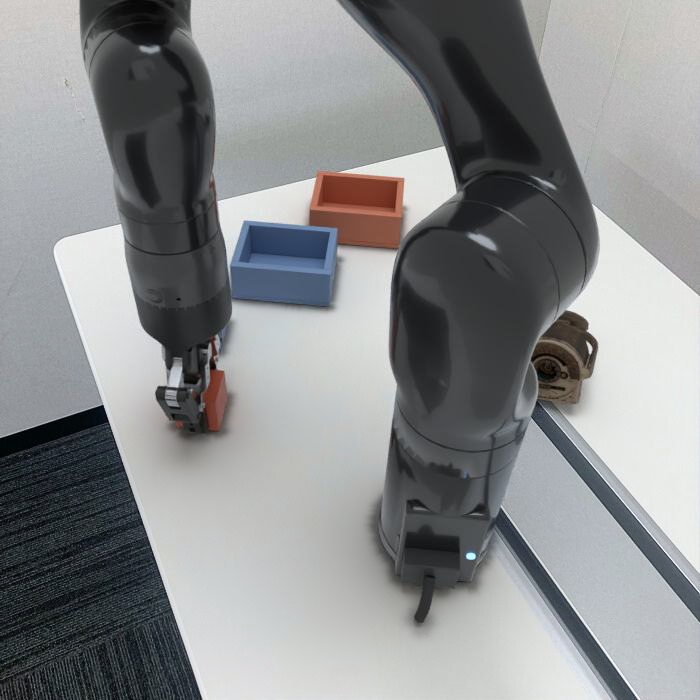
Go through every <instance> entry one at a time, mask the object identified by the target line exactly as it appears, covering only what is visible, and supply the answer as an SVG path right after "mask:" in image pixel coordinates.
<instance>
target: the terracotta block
mask: <svg viewBox="0 0 700 700" xmlns="http://www.w3.org/2000/svg"><path fill="white" fill-rule="evenodd" d="M196 377H200V374H199V375H198V376H196ZM226 381H227V380H226V372H225V370H221V369H217V370H212V369H210V383H209V385H208V388H207V390H206V391H205V402H206V411H207V417H208V423H209V428H208V431H216V432H220V429H221V426H222V422H223V419H224V415H225V410H226V407H227V404H228V399H229V397H228V388H227V382H226ZM192 396H193V397H196V393H195V392H194V391H192ZM175 424H176V428H183V424H182V422H177V421H175Z"/></svg>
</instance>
